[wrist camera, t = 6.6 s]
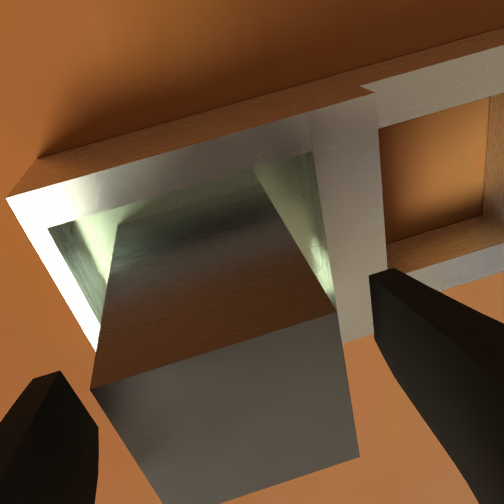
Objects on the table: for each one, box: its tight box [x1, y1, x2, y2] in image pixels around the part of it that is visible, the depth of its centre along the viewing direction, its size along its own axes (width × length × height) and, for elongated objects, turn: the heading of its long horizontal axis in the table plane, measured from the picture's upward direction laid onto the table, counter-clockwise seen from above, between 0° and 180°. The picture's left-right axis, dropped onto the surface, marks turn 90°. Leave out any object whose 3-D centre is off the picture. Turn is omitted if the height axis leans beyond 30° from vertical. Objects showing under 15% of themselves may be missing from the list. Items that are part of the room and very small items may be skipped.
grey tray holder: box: [6, 28, 504, 351], centre depth 14 cm, size 16×8×3 cm, turn 103°
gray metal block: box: [90, 184, 360, 504], centre depth 11 cm, size 4×4×6 cm
